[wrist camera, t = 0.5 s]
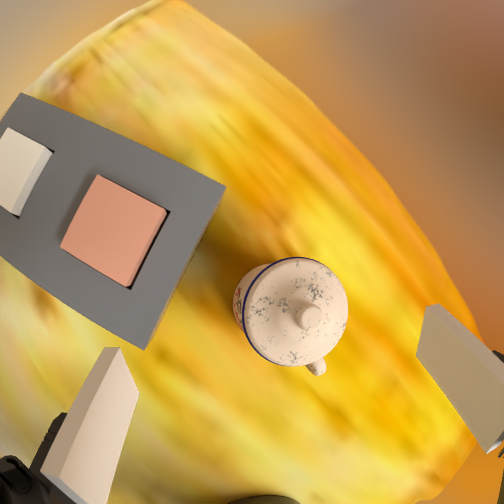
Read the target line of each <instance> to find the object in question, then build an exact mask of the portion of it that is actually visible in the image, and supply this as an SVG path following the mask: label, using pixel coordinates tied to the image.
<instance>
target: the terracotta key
mask: <svg viewBox="0 0 504 504" xmlns="http://www.w3.org/2000/svg"><path fill="white" fill-rule="evenodd" d="M167 218H168V215H167V213H166V211H165V209H163V208H161V207H159V206H158V205H156V204H154V203H152V202H150V201H148V200H146V199H144V198H142V197H140V196H138V195H136V194H134V193H133V192H131V191H129V190H127V189H125V188H123V187H121V186H119V185H117V184H115V183H113V182H111V181H110V180H108V179H106V178H104V177H102V176H100V175H98V174H97V176H96V178H95V179H94V181H93V183H92V184H91V186H90V188H89V190H88V192H87V193H86V195H85V197H84V199H83V201H82V202H81V204H80V206H79V208H78V210H77V212H76V214H75V216H74V218H73V220H72V222H71V224H70V226H69V228H68V230H67V232H66V234H65V236H64V238H63V241H62V243H61V245H60V247H61V248H62V249H64V250H65V251H67V252H69V253H70V254H72V255H73V256H75V257H76V258H78V259H80V260H81V261H83V262H84V263H86V264H88V265H89V266H91V267H93V268H94V269H96V270H98V271H99V272H101V273H103V274H104V275H106V276H108V277H109V278H111V279H113V280H115V281H116V282H118V283H120V284H122V285H123V286H125V287H126V286H132V285H134V283H135V281H136V279H137V277H138V275H139V273H140V271H141V268H142V266H143V264H144V262H145V260H146V258H147V256H148V254H149V252H150V250H151V248H152V247H153V245H154V243H155V241H156V239H157V237H158V235H159V233H160V231H161V229H162V227H163V226H164V224H165V222H166V220H167Z"/></svg>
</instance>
